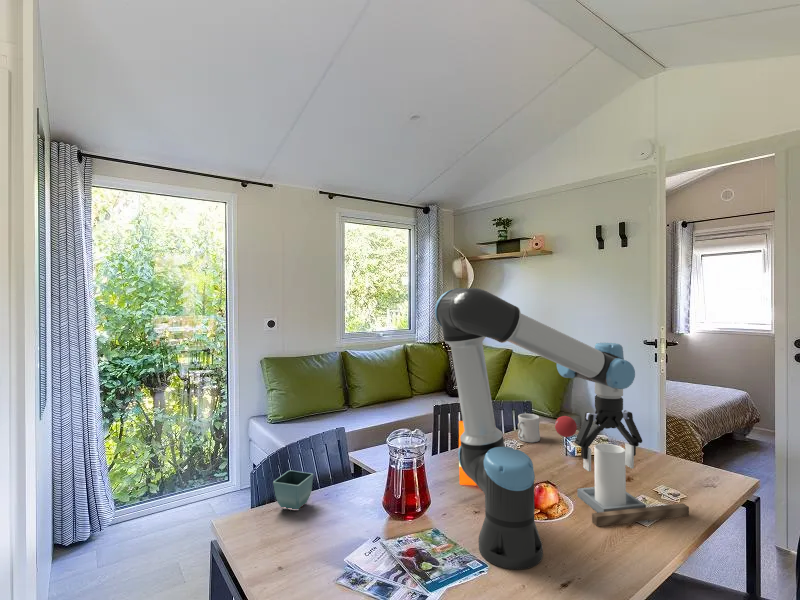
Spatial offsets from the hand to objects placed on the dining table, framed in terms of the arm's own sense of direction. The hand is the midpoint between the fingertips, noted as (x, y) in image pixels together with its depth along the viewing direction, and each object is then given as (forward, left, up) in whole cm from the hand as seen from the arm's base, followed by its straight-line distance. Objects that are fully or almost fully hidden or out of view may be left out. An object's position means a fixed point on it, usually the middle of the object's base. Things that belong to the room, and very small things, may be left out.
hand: (608, 468), depth 127 cm
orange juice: (-34, +24, -11) cm, 43 cm away
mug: (+1, +57, -11) cm, 58 cm away
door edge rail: (+3, -9, -11) cm, 14 cm away
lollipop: (+8, +38, -11) cm, 40 cm away
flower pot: (-92, +17, -11) cm, 94 cm away
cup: (0, 0, -10) cm, 10 cm away
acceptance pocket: (0, 0, -11) cm, 11 cm away
